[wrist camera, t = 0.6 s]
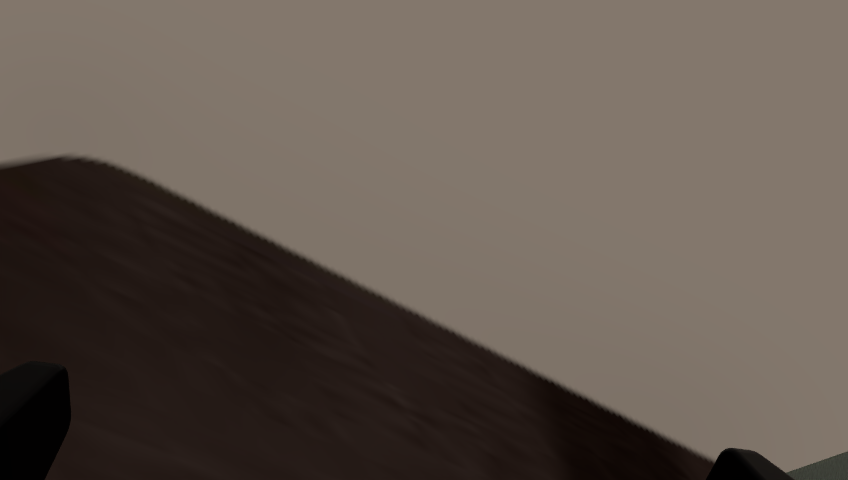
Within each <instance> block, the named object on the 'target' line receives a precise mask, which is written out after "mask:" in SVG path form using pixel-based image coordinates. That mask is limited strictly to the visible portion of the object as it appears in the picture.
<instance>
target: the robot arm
mask: <svg viewBox="0 0 848 480" xmlns="http://www.w3.org/2000/svg"><path fill="white" fill-rule="evenodd" d="M70 421H71V406H70V393H69V379H68V372H67V370H66V368H65V367H64V366H62V365H60V364H54V363H46V362H38V361H30V362H26V363H24V364H21V365H19V366H17V367H15V368H13V369H11V370H9V371H7V372H5V373H3V374H1V375H0V480H45V478H46V476H47V474H48V471H49V469H50V467H51V465H52V463H53V461H54V459H55V457H56V455H57V453H58V451H59V449H60V447H61V445H62V442H63V440H64V438H65V436H66V434H67V432H68V429H69V425H70ZM706 480H795V479H793V478H792V477H790V476H789V475H788V474H786V473H785V472H783V471H782V470H780V469H779V468H778V467H777V466H775V465H774V464H773V463H771V462H770V461H768V460H767V459H766V458H764V457H763V456H762V455H760V454H758V453H757V452H755V451H751V450H743V449H736V448H728V449H725V450H724V451H722V452H721V453H720V455H719V457H718V458H717V460H716V462H715V464H714V466H713V468H712V469H711V471H710V473H709V475H708V477H707V479H706Z"/></svg>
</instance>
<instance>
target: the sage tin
mask: <svg viewBox="0 0 848 480" xmlns="http://www.w3.org/2000/svg"><path fill="white" fill-rule="evenodd" d="M786 474H788V475H789V476H790V477H792V478H793V479H795V480H848V452H845V453H842V454H839V455H836V456H833V457H830V458H828V459H824V460H822V461H819V462H816V463H813V464H810V465H807V466H804V467H802V468H799V469H796V470H793V471H790V472H787V473H786Z"/></svg>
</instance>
